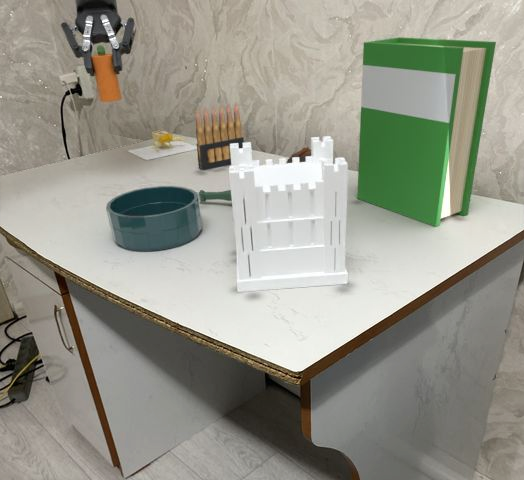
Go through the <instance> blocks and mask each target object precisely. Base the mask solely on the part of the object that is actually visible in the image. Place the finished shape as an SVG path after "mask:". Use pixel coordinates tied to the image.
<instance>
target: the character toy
mask: <svg viewBox="0 0 524 480" xmlns="http://www.w3.org/2000/svg"><path fill="white" fill-rule="evenodd" d="M151 136H152V141H153V144H154V146H155V147H157V148H158V147H160V148H161V147H165V146H169V145H170V144H171V143H173V142H182V143H183V142H185V137H181V136H176V137H175V136H174V135H173V133H169V132H168V131H165V130H163V129H159V130H156V131H152V132H151Z"/></svg>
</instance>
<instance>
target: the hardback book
mask: <svg viewBox="0 0 524 480" xmlns="http://www.w3.org/2000/svg"><path fill="white" fill-rule="evenodd" d="M496 44H497V41H487V40H485V41H484V40H465V39H463V40H462V39H444V38H443V39H442V38H425V37H424V38H419V37H403V36H402V37H399V36H398V37H392V38H384V39H378V40H371V41H365V42H363V52H362V73H361V75H362V77H361V78H362V79H361V100H360V101H361V102H360V125H359V148H358V149H359V150H358V169H357V170H358V173H357V196H356V197H357V199H358V200H360V201H363V202H366V203H367V204H368V203H369V204H371V205H373V206H376V207H379V208H383V209H385V210H387V211H391V212H394V213H396V214H399V215H402V216H404V217H408V218H410V219H413V220H415V221H418V222H421V223H424V224H427V225H430V226H432V227H435V228H436V227H439V226H441V220H442V219H444V218H447V217H449V216H452V215H455V214H456V215H459V216H461V217H466V216H468V215H469V210H470V204H471V198H472V191H473V185H474V179H475V172H476V168H477V160H478V155H479V148H480V142H481V135H482V130H483V123H484V117H485V112H486V107H487V101H488V93H489V86H490V81H491V75H492V68H493V62H494V56H495V50H496V46H497V45H496Z"/></svg>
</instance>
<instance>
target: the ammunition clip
mask: <svg viewBox="0 0 524 480" xmlns="http://www.w3.org/2000/svg"><path fill="white" fill-rule="evenodd" d="M200 113H201V112H200V111H199V109H198V108H196V110H195V135H196V147H197V149H196V150H197V162H198V163H197V164H198V169H199V170H201V171H207V170H211V169H215V168H220V167H225V166H231V155H230V144H233V143H238V145H239V148H243V143H245V141H244V137H243V126H242V121H241V115H240V109H239V105H238V103H237V102H235V103H234V106H233V111H232V108H231V105H230V104H229V103H227V106H226V116H225V111H224V108H223V106H222V104H220V105H219V109H218V114H217V111H216V108H215V106H212V107H211V115H210V116H209V111H208V109H207V107H204V110H203V116H201V114H200ZM202 117H203V123H202ZM210 117H211V122H210ZM218 117H219V118H218Z"/></svg>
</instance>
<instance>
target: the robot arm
mask: <svg viewBox="0 0 524 480" xmlns="http://www.w3.org/2000/svg"><path fill="white" fill-rule="evenodd" d="M75 8H76V16H75V20H74V22H73V23H70V24H69V23H67V22H66V21H65V22H64V21H63V22H61V24H60V27H61V30H62V32H63V35H64V37H65V40H66V41H67V43H68V45H69V46H70V47H69V48H70V49H71V51H72V53H73V55H74V56H75V58H77V59H81V58H83V65H84V70H85V72H86V74H89V76H90V77H95V73H94V68H93V63H92V59H91V56H93V53H94V51H95V48H96V44H101V43H104V44H109V47H110V49H111V54H112V56H113V64H114V69H115V73H116V74H117V75H120V72H122V71H123V67H124V66H123V59H122V56H123V55H124V54H125V55H129V54H131V53H132V48H133V44H134V41H135V36H136V33H137V28H136V22H135V19H134V18H133V17H128V18H127V19H122V18H121V16H120V15H119V10H118V3H117V0H75ZM121 29H122V30H123V36H122V40H121V42H118V38H117V37H116V36H117V35H118V33H119V31H120V30H121ZM77 32H79V33H80V34H81V35H82V37H83V38H82V39H83V40H82V45H79V43H78V42H77V39H76V37H77Z"/></svg>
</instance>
